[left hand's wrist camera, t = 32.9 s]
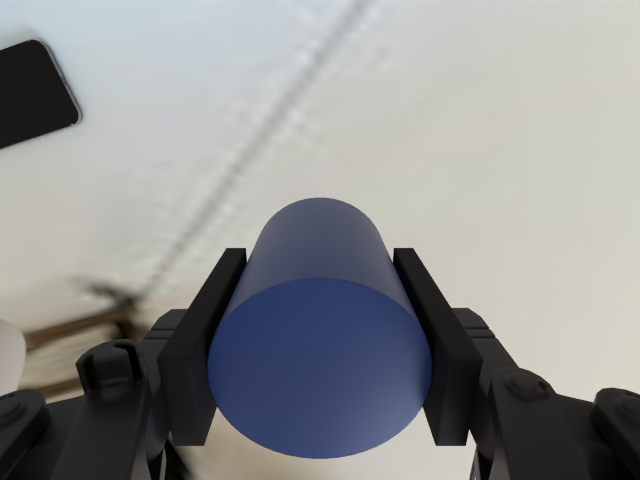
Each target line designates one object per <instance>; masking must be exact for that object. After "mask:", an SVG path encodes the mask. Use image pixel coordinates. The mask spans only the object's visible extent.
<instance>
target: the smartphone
mask: <svg viewBox="0 0 640 480" xmlns="http://www.w3.org/2000/svg"><path fill="white" fill-rule="evenodd" d="M81 118H82V114H81V111H80V108H79V106H78V104H77V102H76V100H75V98H74V97H73V95H72V93H71V91H70V89H69V87H68V85H67V83H66V81H65V79H64V77H63V75H62V73H61V71H60V69H59V67H58V65H57V63H56V61H55V59H54V57H53V55H52V53H51V51H50V49H49V48H48V47H47V46H46V45H45V44H44V43H42V42H40V41H36V40H28V41H25V42H22V43H20V44H17V45H14V46H11V47H8V48H6V49H3V50H0V150H1V149H4V148H7V147H10V146H13V145H16V144H19V143H22V142H25V141H28V140H31V139H34V138H37V137H40V136H44V135H47V134H50V133H53V132H56V131H59V130H62V129H65V128H68V127H71V126H74V125H77V124H78V123H79V122H80V121H81Z"/></svg>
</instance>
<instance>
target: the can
mask: <svg viewBox="0 0 640 480" xmlns="http://www.w3.org/2000/svg"><path fill="white" fill-rule="evenodd" d="M432 374H433V361H432V355H431V350H430V347H429V344H428V341H427V338H426V336H425V334H424V331H423V329H422V327H421V325H420V322H419V320H418V318H417V316H416V314H415V311H414V309H413V307H412V305H411V302H410V300H409V298H408V296H407V294H406V291H405V289H404V287H403V285H402V283H401V280H400V278H399V276H398V274H397V271H396V269H395V267H394V265H393V263H392V260H391V258H390V256H389V254H388V252H387V249H386V247H385V245H384V243H383V240H382V238H381V236H380V234H379V232H378V230H377V228H376V227H375V225H374V224H373V223H372V221H371V220H370V219H369V218H368V217H367V216H366V215H365V214H364V213H363V212H361V211H360V210H359V209H357V208H355V207H354V206H352V205H350V204H348V203H345V202H343V201H339V200H336V199H330V198H310V199H304V200H300V201H297V202H295V203H292V204H290V205H288V206H286V207H284V208H283V209H281V210H280V211H278V212H277V213H276V214H275V215H274V216H273V217H272V218H271V219H270V220H269V221H268V222H267V224H266V225H265V226H264V228H263V230H262V232H261V233H260V236H259V238H258V240H257V242H256V244H255V247H254V249H253V251H252V253H251V255H250V258H249V260H248V262H247V264H246V266H245V269H244V271H243V273H242V275H241V277H240V280H239V282H238V284H237V286H236V288H235V291H234V293H233V295H232V297H231V299H230V302H229V304H228V306H227V308H226V310H225V313H224V315H223V317H222V319H221V321H220V324H219V326H218V328H217V330H216V332H215V335H214V337H213V340H212V342H211V345H210V348H209V353H208V358H207V377H208V384H209V387H210V391H211V394H212V397H213V399H214V401H215V403H216V405H217V407H218V408H219V410H220V411H221V413H222V414H223V416H224V417H225V418H226V419H227V420H228V421H229V423H230V424H231V425H232V426H233V427H234V428H236V429H237V430H238V431H239V432H240V433H241V434H243V435H244V436H246V437H247V438H249V439H250V440H252V441H254V442H255V443H257V444H259V445H261V446H263V447H265V448H268V449H270V450H273V451H276V452H279V453H282V454H286V455H290V456H295V457H302V458H312V459H327V458H339V457H344V456H350V455H354V454H357V453H361V452H364V451H367V450H369V449H372V448H374V447H377V446H379V445H380V444H382V443H384V442H386V441H388V440H389V439H391V438H392V437H394V436H395V435H397V434H398V433H399V432H401V431H402V430H403V429H404V428H405V427H406V426H407V425H408V424H409V423H410V422H411V421H412V420H413V419H414V418H415V416H416V415H417V414H418V412H419V411H420V409H421V408H422V406H423V404H424V402H425V400H426V398H427V396H428V392H429V389H430V386H431V380H432Z"/></svg>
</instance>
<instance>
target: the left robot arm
mask: <svg viewBox="0 0 640 480" xmlns="http://www.w3.org/2000/svg"><path fill="white" fill-rule="evenodd" d="M246 264H247V258H246V248H226V250H225V252H224V253H223V255H222V256H221V258H220V259H219V261H218V263H217V264H216V266H215V267H214V269H213V270H212V272H211V274H210V275H209V277H208V278H207V280H206V281H205V283H204V285H203V286H202V288H201V289H200V291H199V292H198V294H197V296H196V297H195V299H194V300H193V302H192V303H191V305H190V307H189V308H188V309H171V310H170V311H169V312H167V313H166V314H164V315H163V316H161V317H160V318H159V319H158V320H157V321H156V323H155V324H154V325H153V327H152V328H151V331H149V332H148V333H147V335H146V336H145V339H144V340H142V342H141V343H140V344H139V343H138V342H137V341H134V340H130V339H119V340H113V341H109V342H105V343H102V344H100V345H98V346H96V347H94V348H91V349H90V350H89V351H87V352H86V353H84V354H83V355H82V356H81V357H80V358H79V359H78V361H77V362H76V363H75V364H76V367H77V370H78V374H79V377H80V380H81V383H82V387H83V390H84V395H82V396H79V397H75V398H71V399H66V400H62V401H58V402H53V403H49V404H47V403H46V401H45V398H44V395H43V394H42V393H40V392H39V391H38V390H30V389H26V390H20V391H14V392H11V393H8V394H5V395H3V396H0V480H164V476H165V466H166V456H165V450H164V444H165V442H166V439H167V437H168V435H169V433H170V431H171V433H172V438H173V443H174V446H204V444H205V441H206V438H207V435H208V432H209V429H210V426H211V423H212V420H213V417H214V414H215V411H216V408H217V405H216V403H215V401H214V399H213V397H212V394H211V391H210V387H209V384H208V377H207V358H208V353H209V348H210V345H211V342H212V340H213V337H214V335H215V332H216V330H217V328H218V326H219V324H220V321H221V319H222V317H223V315H224V313H225V310H226V308H227V306H228V304H229V302H230V299H231V297H232V295H233V293H234V291H235V288H236V286H237V284H238V282H239V280H240V277H241V275H242V273H243V271H244V269H245V266H246ZM393 265H394V267H395V269H396V271H397V274H398V276H399V278H400V280H401V283H402V285H403V287H404V289H405V291H406V294H407V296H408V298H409V300H410V302H411V305H412V307H413V309H414V311H415V314H416V316H417V318H418V320H419V322H420V325H421V327H422V329H423V331H424V334H425V336H426V338H427V341H428V344H429V347H430V350H431V355H432V361H433V374H432V380H431V386H430V389H429V392H428V396H427V398H426V400H425V402H424V404H423V409H424V412H425V415H426V418H427V421H428V424H429V427H430V430H431V433H432V436H433V439H434V441H435V444H436V446H466V442H467V437H468V432H469V429H470V432H471V434H472V436H473V438H474V440H475V443H476V445H477V446H476V450H475V455H474V459H473V464H472V468H471V473H470V479H469V480H475V476H476V480H640V395H639V394H637V393H634V392H631V391H628V390H624V389H618V388H605V389H602V390H600V391H599V392H598V393H597V394H596V397H595V400H594V402H589V401H585V400H580V399H576V398H571V397H567V396H563V395H560V394H556V393H555V391H554V390H553V388H552V387H551V385H550V384H549V383H548V382H547V381H545V380H544V379H543V378H542V377H540V376H538V375H536V374H535V373H533V372H531V371H528V370H525V369H522V368H519V367H518V366H517V364H516V363H515V362H514V360H513V359H512V358H511V356H510V355H509V354H508V352H507V351H506V350H505V348H504V347H503V346H502V344H501V343H500V342H499V340H498V339H497V338H495V335H494V334H493V332H492V331H491V330H489V327H488V326H487V324H486V323H485V322H484V320H483V319H482V318H481V317H480V316H479V315H477V314H476V313H475V312H473V311H472V310H470V309H469V308H451V307H450V305H449V304H448V302H447V301H446V299H445V298H444V296H443V294H442V293H441V291H440V290H439V288H438V287H437V285H436V283H435V282H434V280H433V279H432V277H431V276H430V274H429V272H428V271H427V269H426V268H425V266H424V265H423V263H422V261H421V260H420V258H419V257H418V255H417V254H416V252H415V250H414V249H413V248H394V255H393Z"/></svg>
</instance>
